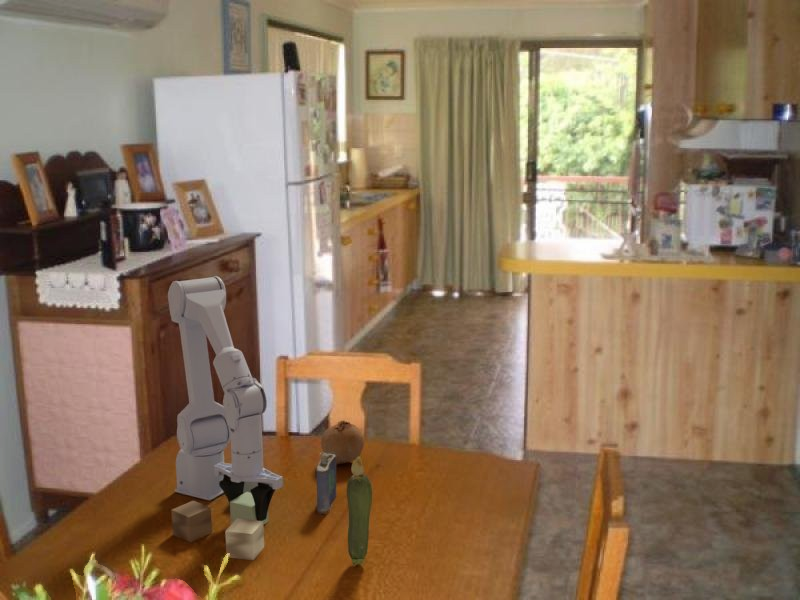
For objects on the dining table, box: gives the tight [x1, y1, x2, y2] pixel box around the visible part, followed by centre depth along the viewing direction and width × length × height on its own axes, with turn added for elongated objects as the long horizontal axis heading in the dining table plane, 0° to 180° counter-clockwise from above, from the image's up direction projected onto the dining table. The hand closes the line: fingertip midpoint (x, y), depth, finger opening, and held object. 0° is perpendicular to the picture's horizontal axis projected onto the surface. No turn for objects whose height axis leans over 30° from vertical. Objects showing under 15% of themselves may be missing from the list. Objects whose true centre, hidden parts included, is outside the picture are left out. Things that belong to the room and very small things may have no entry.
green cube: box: [229, 492, 270, 526], centre depth 167 cm, size 5×5×5 cm
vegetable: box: [346, 455, 373, 567], centre depth 151 cm, size 4×4×20 cm
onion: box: [320, 420, 365, 465], centre depth 195 cm, size 10×9×10 cm
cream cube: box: [224, 518, 265, 561], centre depth 156 cm, size 5×5×5 cm
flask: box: [316, 451, 337, 515], centre depth 175 cm, size 9×3×11 cm, turn 172°
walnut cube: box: [170, 500, 213, 544], centre depth 163 cm, size 5×5×5 cm
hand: (249, 516), depth 167 cm, fingers closed on green cube, 5 cm apart
